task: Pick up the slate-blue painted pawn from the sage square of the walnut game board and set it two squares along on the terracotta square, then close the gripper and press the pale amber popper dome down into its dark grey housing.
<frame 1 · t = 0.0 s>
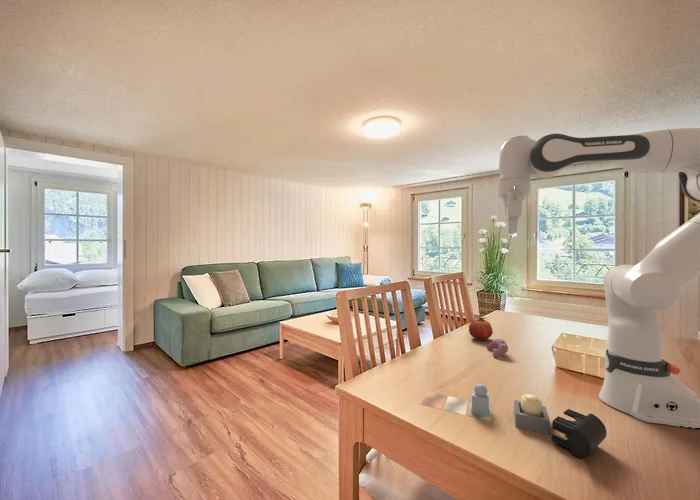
hand: (512, 233, 97), 48 cm above the table, fingers open, 8 cm apart
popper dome: (531, 405, 75), point 5 cm above the table, slide at 0.0 cm
end cap: (578, 450, 67), on the table
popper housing: (530, 425, 76), on the table
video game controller: (497, 354, 124), on the table
fruit: (480, 339, 142), on the table
pawn: (480, 410, 81), point 1 cm above the table, touching game board
game board: (456, 407, 83), on the table
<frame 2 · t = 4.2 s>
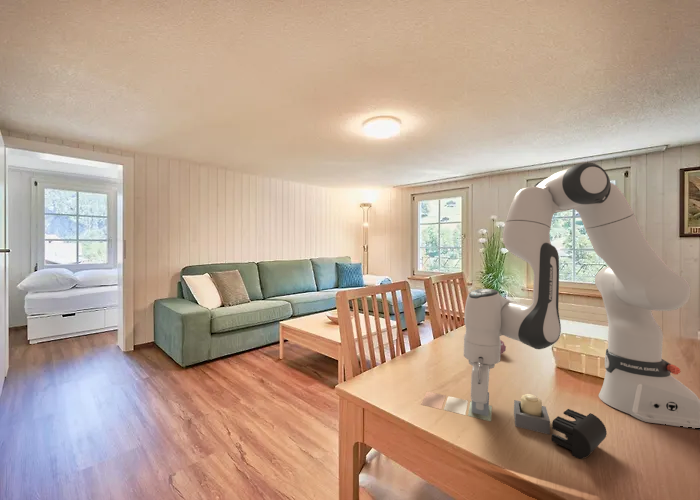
hand: (480, 403, 80), 3 cm above the table, fingers closed on pawn, 4 cm apart
pawn: (480, 410, 81), point 1 cm above the table, touching game board, gripper
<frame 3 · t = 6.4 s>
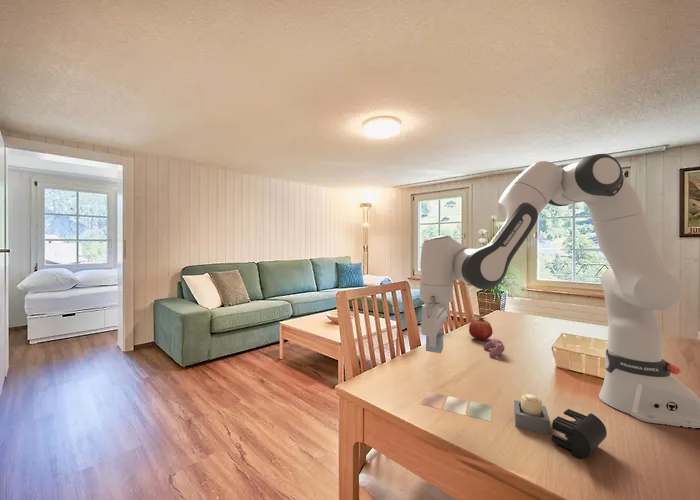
hand: (434, 343, 85), 17 cm above the table, fingers closed on pawn, 4 cm apart
pawn: (434, 349, 85), point 15 cm above the table, touching gripper
when the fingers open (4 cm above the table, at t = 8.9 s): pawn drops 2 cm, resting on game board.
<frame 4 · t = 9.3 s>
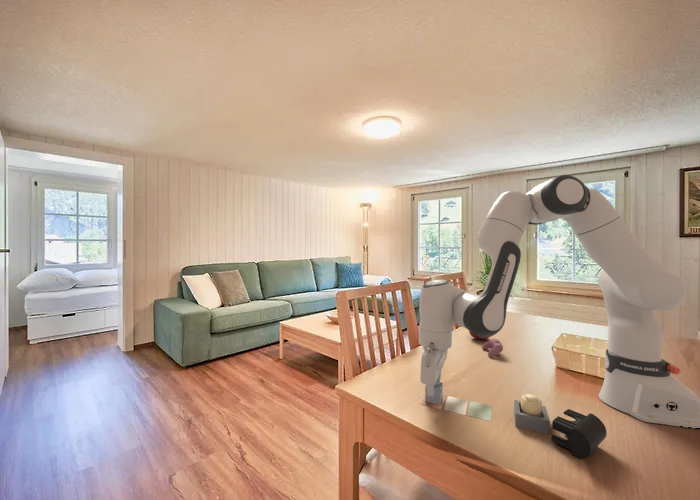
hand: (434, 387, 86), 4 cm above the table, fingers open, 8 cm apart
pawn: (433, 399, 86), point 1 cm above the table, touching game board
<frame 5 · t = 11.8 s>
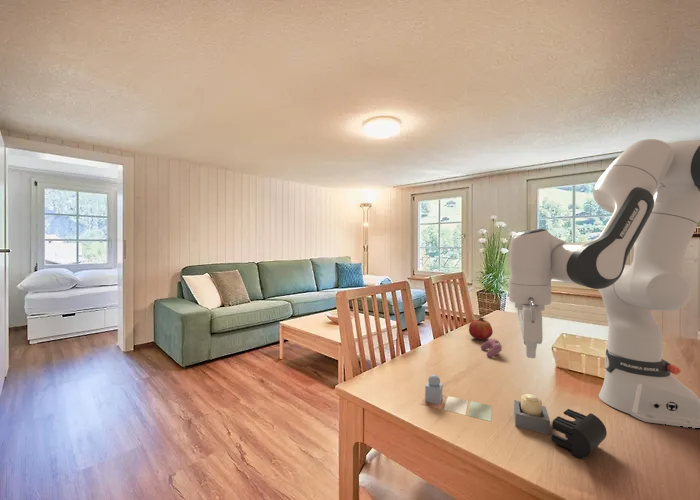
hand: (529, 350, 76), 18 cm above the table, fingers open, 8 cm apart
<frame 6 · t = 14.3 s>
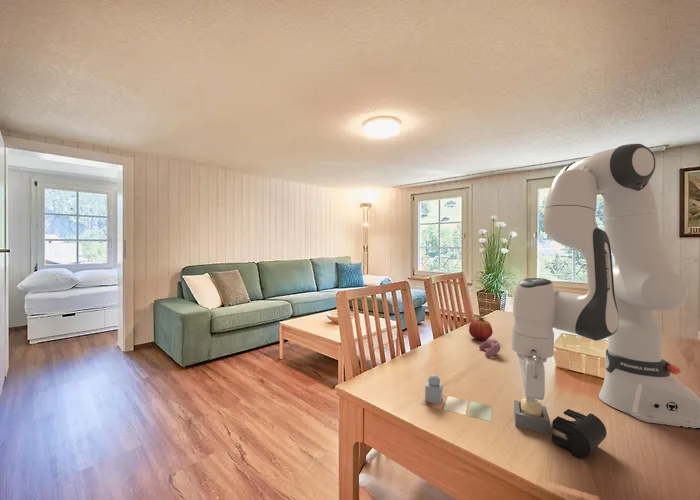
hand: (529, 399, 75), 6 cm above the table, fingers closed, pressing on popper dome
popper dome: (531, 409, 75), point 4 cm above the table, slide at -0.9 cm, touching gripper
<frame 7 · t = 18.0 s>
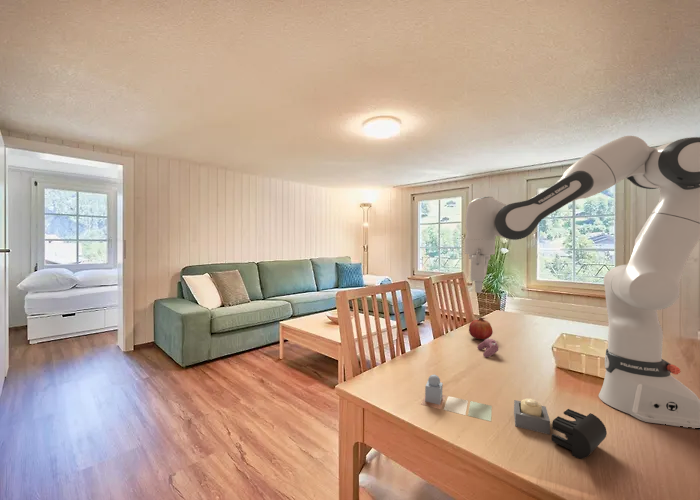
hand: (478, 292, 98), 29 cm above the table, fingers closed
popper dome: (531, 410, 75), point 4 cm above the table, slide at -1.1 cm
at the end: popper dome slide at -1.1 cm; pawn inside the target area (0.0 cm from its centre), point 0.7 cm above the table; pawn tilted 0° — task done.
